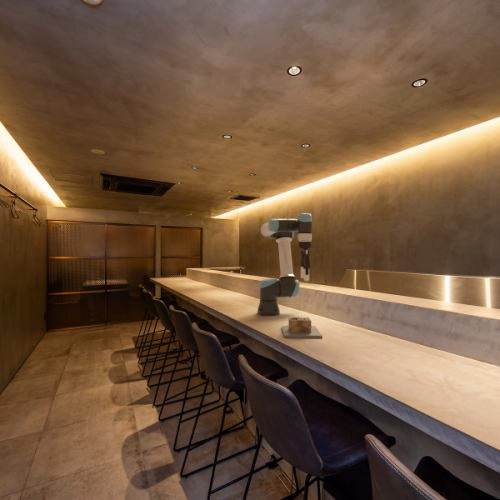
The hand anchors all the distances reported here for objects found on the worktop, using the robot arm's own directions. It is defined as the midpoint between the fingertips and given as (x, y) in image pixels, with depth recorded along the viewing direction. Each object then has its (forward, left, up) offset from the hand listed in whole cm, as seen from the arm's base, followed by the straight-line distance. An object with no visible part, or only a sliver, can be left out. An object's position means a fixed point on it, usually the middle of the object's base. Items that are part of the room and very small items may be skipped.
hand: (304, 279), depth 162 cm
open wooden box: (+14, -5, -25) cm, 29 cm away
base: (+14, -4, -26) cm, 30 cm away
